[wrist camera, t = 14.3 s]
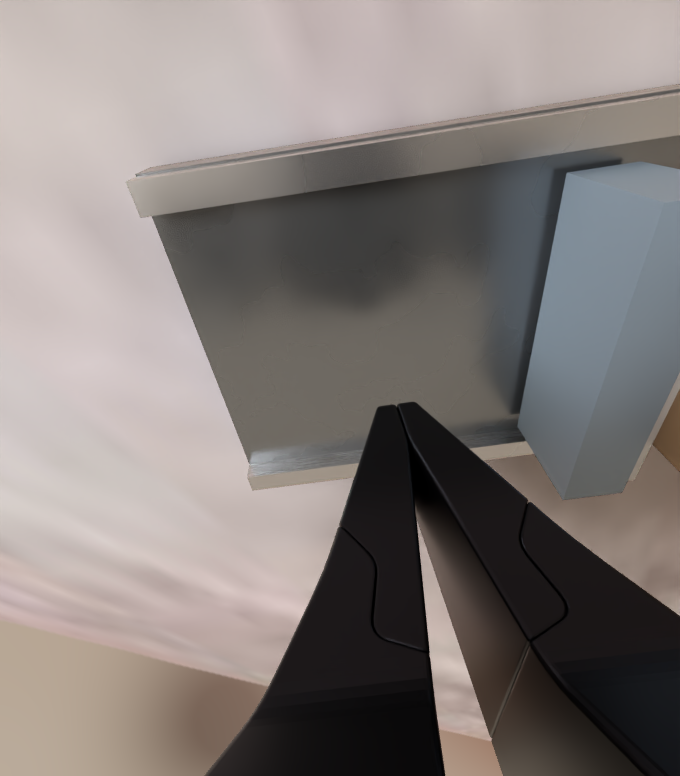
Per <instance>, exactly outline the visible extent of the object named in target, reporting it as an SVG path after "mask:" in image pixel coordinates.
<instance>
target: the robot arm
mask: <svg viewBox="0 0 680 776" xmlns="http://www.w3.org/2000/svg"><path fill="white" fill-rule="evenodd" d="M527 503H528V500H527V498H525V497H524V496H523V495H522V494H521V493H520V492H519V491H517V490H516V489H515V488H514V487H513V486H512V485H511V484H509V483H508V482H507V481H506V480H505V479H504V478H502V477H501V476H500V475H499V474H498V473H497V472H496V471H494V470H493V469H492V468H491V467H490V466H489V465H488V464H486V463H485V462H484V461H483V460H482V459H481V458H480V457H478V456H477V455H476V454H475V453H474V452H473V451H471V450H470V449H469V448H468V447H467V446H466V445H465V444H463V443H462V442H461V441H460V440H459V439H458V438H457V437H455V436H454V435H453V434H452V433H451V432H450V431H449V430H447V429H446V428H445V427H444V426H443V425H442V424H441V423H439V422H438V421H437V420H436V419H435V418H434V417H432V416H431V415H430V414H429V413H428V412H427V411H426V410H424V409H423V408H422V407H421V406H420V405H419V404H418V403H416V402H405V403H399V404H397V406H396V405H394V404H391V405H384V406H379V407H377V409H376V412H375V415H374V418H373V421H372V424H371V427H370V431H369V434H368V437H367V440H366V443H365V446H364V449H363V452H362V455H361V459H360V462H359V465H358V468H357V471H356V474H355V477H354V480H353V483H352V487H351V490H350V493H349V496H348V499H347V502H346V505H345V508H344V511H343V515H342V518H341V521H340V524H339V526H340V527H339V528H338V529H337V532H336V536H335V539H334V542H333V545H332V548H331V550H330V553H329V556H328V559H327V561H326V564H325V567H324V570H323V572H322V574H321V577H320V579H319V581H318V583H317V586H316V588H315V590H314V593H313V595H312V597H311V599H310V602H309V604H308V606H307V608H306V610H305V612H304V614H303V616H302V618H301V621H300V623H299V625H298V627H297V629H296V631H295V633H294V635H293V637H292V639H291V642H290V644H289V646H288V648H287V650H286V652H285V654H284V656H283V658H282V661H281V663H280V665H279V667H278V669H277V671H276V673H275V675H274V677H273V679H272V681H271V683H270V685H269V687H268V689H267V690H266V692H265V694H264V696H263V698H262V699H261V701H260V703H259V704H258V706H257V708H256V709H255V711H254V713H253V714H252V715H251V717H250V718H249V720H248V721H247V723H246V724H245V725H244V726H243V728H242V729H241V730H240V732H239V733H238V734H237V736H236V737H235V738H234V739H233V740H232V742H231V743H230V744H229V745H228V747H227V748H226V749H225V750H224V752H223V753H222V754H221V755H220V757H219V758H218V759H217V760H216V762H215V763H214V764H213V765H212V767H211V768H210V770H208V772H207V773H206V774H205V775H204V776H445V770H444V763H443V756H442V749H441V742H440V735H439V727H438V720H437V713H436V705H435V697H434V689H433V680H432V671H431V661H430V657H429V652H430V651H429V641H428V631H427V621H426V611H425V601H424V591H423V581H422V571H421V561H420V551H419V540H418V530H417V521H418V524H419V527H420V530H421V533H422V536H423V538H424V541H425V544H426V547H427V550H428V553H429V556H430V559H431V562H432V565H433V568H434V571H435V574H436V577H437V580H438V583H439V586H440V589H441V592H442V595H443V598H444V601H445V604H446V607H447V610H448V613H449V616H450V619H451V622H452V625H453V628H454V631H455V634H456V637H457V640H458V643H459V646H460V649H461V651H462V654H463V657H464V660H465V663H466V666H467V669H468V672H469V675H470V678H471V681H472V684H473V687H474V690H475V693H476V696H477V699H478V702H479V705H480V708H481V711H482V714H483V717H484V720H485V723H486V726H487V729H488V732H489V735H490V737H491V738H492V744H493V747H494V750H495V753H496V756H497V759H498V762H499V764H500V768H501V771H502V774H503V776H680V616H679V615H678V614H676V613H675V612H674V611H672V610H671V609H669V608H668V607H667V606H665V605H664V604H663V603H661V602H660V601H658V600H657V599H656V598H654V597H653V596H652V595H650V594H649V593H647V592H646V591H645V590H643V589H642V588H640V587H639V586H638V585H636V584H635V583H634V582H632V581H631V580H629V579H628V578H627V577H625V576H624V575H623V574H621V573H620V572H618V571H617V570H616V569H614V568H613V567H611V566H610V565H609V564H607V563H606V562H605V561H603V560H602V559H601V558H599V557H598V556H597V555H595V554H594V553H593V552H591V551H590V550H589V549H587V548H586V547H585V546H583V545H582V544H581V543H579V542H578V541H577V540H575V539H574V538H573V537H572V536H570V535H569V534H568V533H567V532H566V531H564V530H563V529H562V528H561V527H560V526H558V525H557V524H556V523H555V522H554V521H552V520H551V519H550V518H549V517H548V516H546V515H545V514H544V513H543V512H542V511H541V510H539V509H538V508H537V507H536V506H535V505H534V504H533V503H531V502H529V503H528V504H527ZM416 518H417V520H416Z"/></svg>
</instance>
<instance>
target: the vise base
mask: <svg viewBox="0 0 680 776" xmlns="http://www.w3.org/2000/svg"><path fill="white" fill-rule="evenodd" d="M640 161H641V162H646V163H651V164H656V165H661V166H666V167H671V168H676V169H680V84H676V85H670V86H663V87H657V88H651V89H644V90H638V91H632V92H625V93H619V94H613V95H606V96H600V97H594V98H587V99H581V100H575V101H568V102H562V103H556V104H549V105H543V106H537V107H530V108H524V109H518V110H511V111H505V112H499V113H492V114H486V115H479V116H473V117H467V118H460V119H454V120H448V121H441V122H435V123H429V124H422V125H416V126H410V127H403V128H397V129H391V130H384V131H378V132H372V133H365V134H359V135H353V136H346V137H340V138H334V139H327V140H321V141H315V142H308V143H302V144H296V145H289V146H283V147H276V148H270V149H264V150H257V151H251V152H245V153H238V154H232V155H226V156H219V157H213V158H207V159H200V160H194V161H188V162H181V163H175V164H169V165H162V166H156V167H150V168H148V169H146V170H144V171H141V172H139V173H137V174H135V175H136V177H135V178H133V179H131V180H128V181H126V184H127V186H128V188H129V191H130V193H131V196H132V198H133V201H134V203H135V205H136V208H137V210H138V213H139V215H140V218H143V217H149V216H152V218H153V220H154V223H155V225H156V228H157V230H158V233H159V236H160V238H161V241H162V243H163V246H164V248H165V251H166V253H167V256H168V258H169V261H170V264H171V266H172V269H173V271H174V274H175V276H176V279H177V281H178V284H179V286H180V289H181V291H182V294H183V297H184V299H185V302H186V304H187V307H188V309H189V312H190V314H191V317H192V319H193V322H194V324H195V327H196V330H197V332H198V335H199V337H200V340H201V342H202V345H203V347H204V350H205V352H206V355H207V357H208V360H209V363H210V365H211V368H212V370H213V373H214V375H215V378H216V380H217V383H218V385H219V388H220V390H221V393H222V396H223V398H224V401H225V403H226V406H227V408H228V411H229V413H230V416H231V418H232V421H233V423H234V426H235V429H236V431H237V434H238V436H239V439H240V441H241V444H242V446H243V449H244V451H245V454H246V456H247V459H248V462H249V464H250V465H249V471H248V477H247V478H248V480H249V483H250V485H251V488H252V490H260V489H268V488H276V487H283V486H291V485H299V484H307V483H314V482H322V481H330V480H338V479H345V478H353V477H355V474H356V471H357V468H358V465H359V462H360V459H361V455H362V452H363V449H364V446H365V443H366V440H367V437H368V434H369V431H370V427H371V424H372V421H373V418H374V415H375V412H376V409H377V407H379V406H384V405H391V404H394V405H396V406H397V404H399V403H405V402H416V403H418V404H419V405H420V406H421V407H422V408H423V409H424V410H426V411H427V412H428V413H429V414H430V415H431V416H432V417H434V418H435V419H436V420H437V421H438V422H439V423H441V424H442V425H443V426H444V427H445V428H446V429H447V430H449V431H450V432H451V433H452V434H453V435H454V436H455V437H457V438H458V439H459V440H460V441H461V442H462V443H463V444H465V445H466V446H467V447H468V448H469V449H470V450H471V451H473V452H474V453H475V454H476V455H477V456H478V457H480V458H481V459H482V460H483V461H484V460H492V459H500V458H507V457H515V456H523V455H531V454H534V453H533V451H532V449H531V448H530V446H529V444H528V443H527V441H526V440H525V438H524V436H523V435H522V433H521V431H520V430H519V428H518V427H517V425H518V420H519V415H520V410H521V405H522V399H523V394H524V389H525V384H526V379H527V374H528V369H529V363H530V358H531V353H532V348H533V343H534V338H535V333H536V328H537V322H538V317H539V312H540V307H541V302H542V297H543V292H544V287H545V281H546V276H547V271H548V266H549V261H550V256H551V251H552V245H553V240H554V235H555V230H556V225H557V220H558V215H559V210H560V204H561V199H562V194H563V189H564V184H565V179H566V174H567V173H568V172H574V171H581V170H587V169H594V168H601V167H607V166H614V165H620V164H627V163H634V162H640Z"/></svg>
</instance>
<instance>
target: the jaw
mask: <svg viewBox="0 0 680 776" xmlns="http://www.w3.org/2000/svg"><path fill="white" fill-rule="evenodd" d="M679 389H680V169H676V168H671V167H666V166H661V165H656V164H651V163H646V162H641V161H640V162H634V163H627V164H620V165H614V166H607V167H601V168H594V169H587V170H581V171H574V172H568V173H567V174H566V179H565V184H564V189H563V194H562V199H561V204H560V210H559V215H558V220H557V225H556V230H555V235H554V240H553V245H552V251H551V256H550V261H549V266H548V271H547V276H546V281H545V287H544V292H543V297H542V302H541V307H540V312H539V317H538V322H537V328H536V333H535V338H534V343H533V348H532V353H531V358H530V363H529V369H528V374H527V379H526V384H525V389H524V394H523V399H522V405H521V410H520V415H519V420H518V425H517V427H518V428H519V430H520V431H521V433H522V435H523V436H524V438H525V440H526V441H527V443H528V444H529V446H530V448H531V449H532V451H533V453H534V454H535V456H536V457H537V459H538V461H539V462H540V464H541V465H542V467H543V469H544V470H545V472H546V474H547V475H548V477H549V478H550V480H551V482H552V483H553V485H554V487H555V488H556V490H557V491H558V493H559V495H560V496H561V498H562V499H563V500H568V499H576V498H584V497H592V496H600V495H608V494H616V493H622V492H623V490H624V488H625V485H626V483H627V481H633V480H635V478H636V476H637V474H638V472H639V470H640V468H641V466H642V464H643V462H644V460H645V458H646V456H647V454H648V452H649V450H650V448H651V446H652V444H653V442H654V440H655V438H656V436H657V434H658V432H659V430H660V428H661V426H662V424H663V422H664V419H665V417H666V415H667V413H668V411H669V409H670V407H671V405H672V403H673V401H674V399H675V397H676V395H677V393H678V391H679Z"/></svg>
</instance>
